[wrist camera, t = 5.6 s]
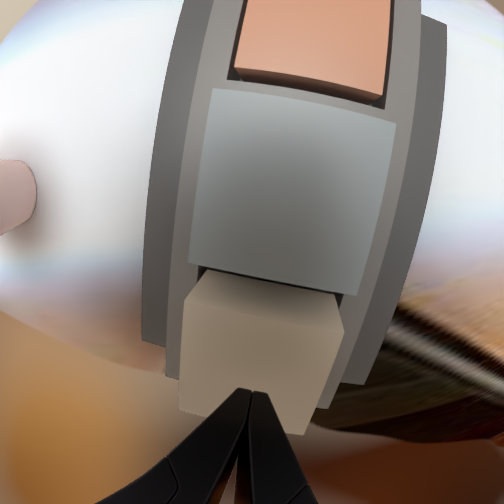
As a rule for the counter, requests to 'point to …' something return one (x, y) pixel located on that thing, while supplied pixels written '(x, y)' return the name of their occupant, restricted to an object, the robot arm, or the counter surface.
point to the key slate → (289, 190)
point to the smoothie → (15, 194)
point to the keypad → (226, 77)
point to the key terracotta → (316, 46)
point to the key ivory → (257, 345)
